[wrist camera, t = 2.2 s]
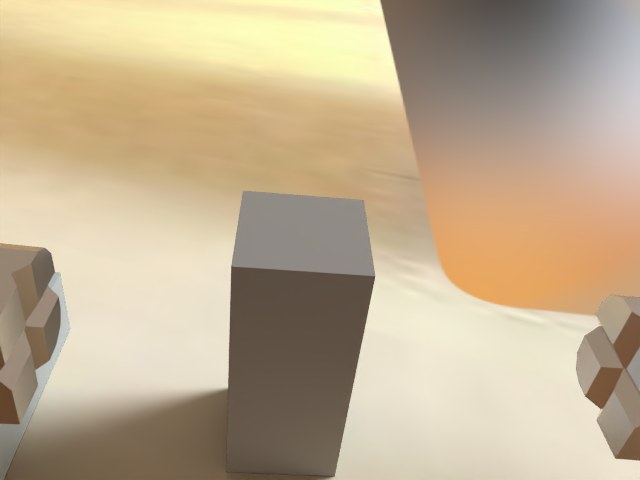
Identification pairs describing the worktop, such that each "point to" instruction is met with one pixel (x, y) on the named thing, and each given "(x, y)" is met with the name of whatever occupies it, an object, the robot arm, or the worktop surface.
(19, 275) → the robot arm
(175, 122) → the worktop surface
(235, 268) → the tall taupe square pillar
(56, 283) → the painted riser
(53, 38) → the worktop surface
